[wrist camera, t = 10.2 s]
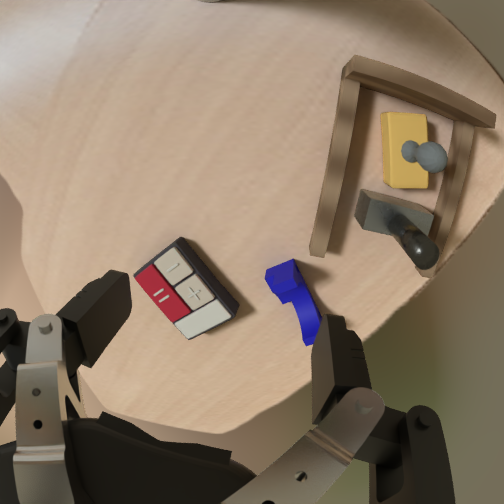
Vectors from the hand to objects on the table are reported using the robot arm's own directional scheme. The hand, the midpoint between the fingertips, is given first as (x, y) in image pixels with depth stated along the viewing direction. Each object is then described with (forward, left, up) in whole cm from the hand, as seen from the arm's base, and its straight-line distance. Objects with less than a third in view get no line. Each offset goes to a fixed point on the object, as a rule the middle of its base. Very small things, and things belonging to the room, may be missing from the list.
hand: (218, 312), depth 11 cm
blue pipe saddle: (+18, +7, -30) cm, 36 cm away
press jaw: (+1, +17, -30) cm, 34 cm away
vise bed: (-5, +17, -30) cm, 35 cm away
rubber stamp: (-8, +17, -30) cm, 36 cm away
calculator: (+20, -11, -31) cm, 38 cm away
